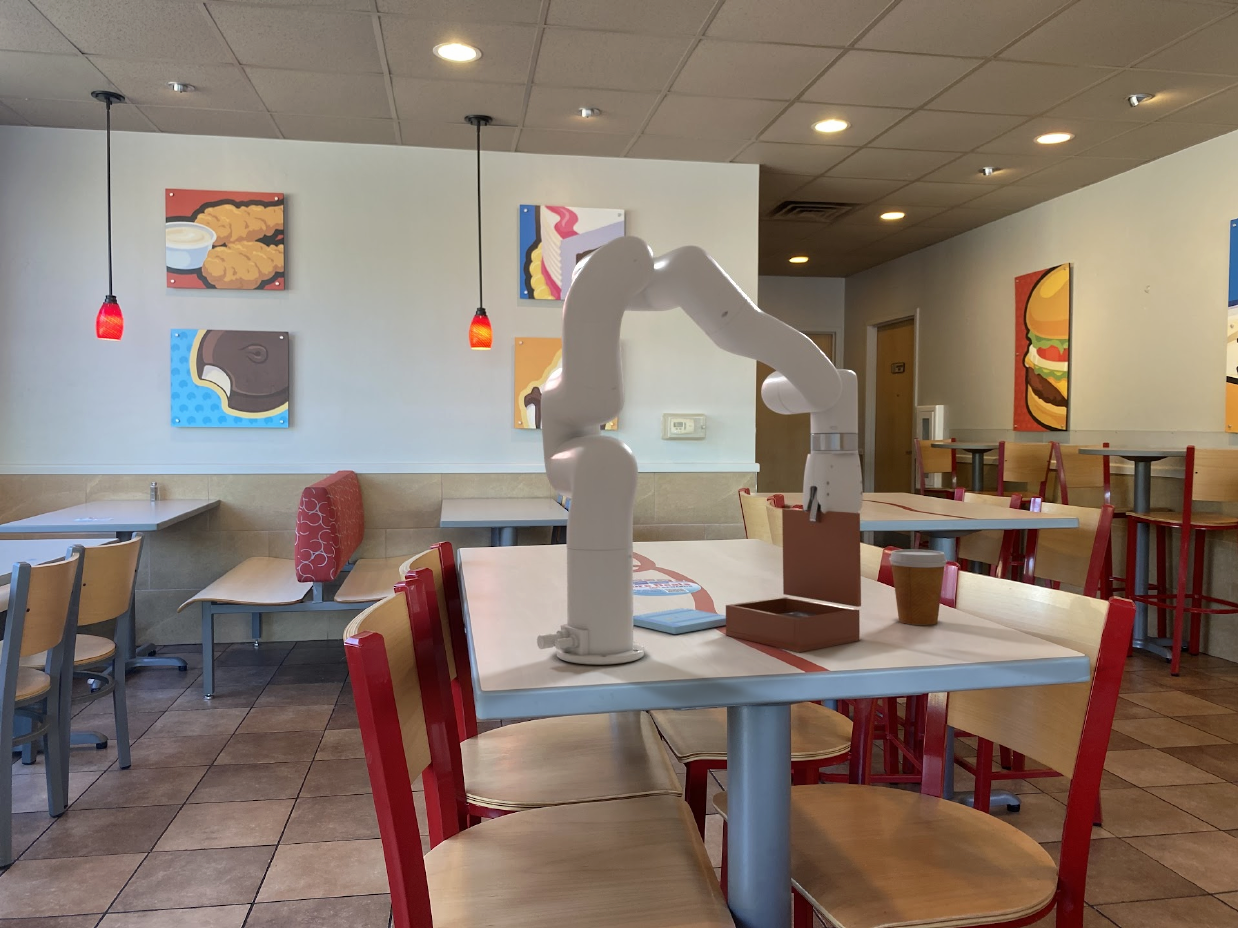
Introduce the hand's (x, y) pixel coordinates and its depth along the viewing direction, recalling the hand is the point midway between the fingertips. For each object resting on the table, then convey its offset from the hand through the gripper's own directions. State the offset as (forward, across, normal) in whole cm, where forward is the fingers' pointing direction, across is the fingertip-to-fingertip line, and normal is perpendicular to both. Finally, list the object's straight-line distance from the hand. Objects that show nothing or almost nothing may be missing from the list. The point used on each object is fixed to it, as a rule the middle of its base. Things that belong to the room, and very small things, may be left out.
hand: (834, 556), depth 142 cm
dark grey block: (+11, +10, 0) cm, 15 cm away
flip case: (+12, +10, 0) cm, 16 cm away
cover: (0, +4, 0) cm, 4 cm away
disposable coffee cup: (+12, -17, +4) cm, 21 cm away
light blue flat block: (+12, +17, -19) cm, 28 cm away
